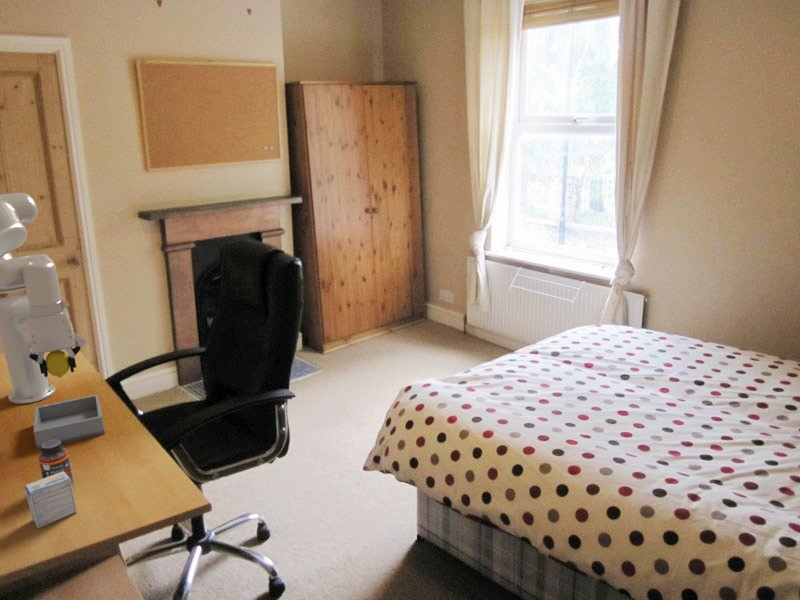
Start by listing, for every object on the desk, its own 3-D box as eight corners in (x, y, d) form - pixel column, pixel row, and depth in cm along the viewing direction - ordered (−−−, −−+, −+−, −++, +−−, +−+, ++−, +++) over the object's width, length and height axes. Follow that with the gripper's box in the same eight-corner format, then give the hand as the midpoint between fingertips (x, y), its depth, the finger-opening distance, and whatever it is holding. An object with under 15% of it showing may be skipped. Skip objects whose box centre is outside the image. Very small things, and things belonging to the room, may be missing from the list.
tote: (38, 423, 178) (35, 407, 176) (101, 409, 185) (98, 394, 183) (37, 449, 164) (33, 432, 163) (104, 433, 171) (101, 417, 170)
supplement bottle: (54, 497, 144) (45, 453, 140) (39, 489, 147) (30, 446, 143) (79, 484, 149) (70, 441, 145) (64, 477, 152) (55, 434, 148)
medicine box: (71, 504, 141) (64, 470, 139) (78, 512, 138) (70, 478, 135) (32, 520, 136) (23, 484, 133) (38, 529, 133) (29, 493, 130)
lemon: (76, 375, 171) (71, 347, 168) (58, 383, 166) (52, 355, 164) (62, 371, 173) (56, 344, 171) (43, 379, 168) (38, 351, 166)
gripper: (83, 299, 170) (94, 361, 176) (9, 309, 163) (23, 374, 169) (84, 307, 164) (95, 371, 170) (7, 318, 157) (21, 385, 162)
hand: (59, 372), depth 169 cm, fingers closed on lemon, 5 cm apart
